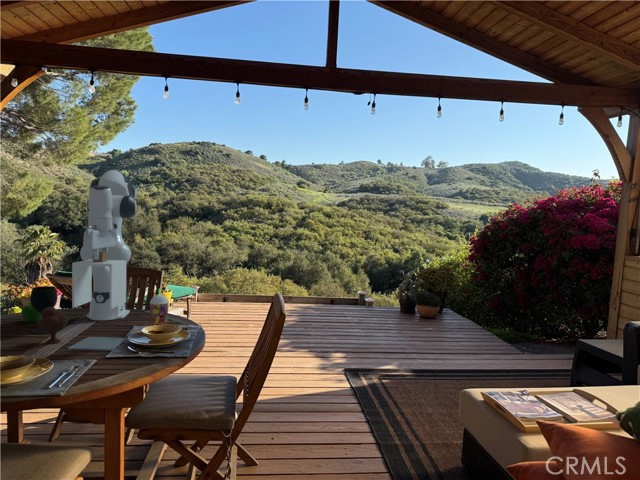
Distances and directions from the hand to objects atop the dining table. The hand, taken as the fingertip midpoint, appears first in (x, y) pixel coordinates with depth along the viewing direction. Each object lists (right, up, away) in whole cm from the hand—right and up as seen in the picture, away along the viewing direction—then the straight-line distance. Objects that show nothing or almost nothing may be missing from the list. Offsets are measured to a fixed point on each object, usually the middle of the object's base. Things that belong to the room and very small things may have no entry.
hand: (100, 258), depth 175 cm
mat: (-1, -36, +2) cm, 36 cm away
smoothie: (+15, -35, +25) cm, 46 cm away
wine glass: (-35, -34, +18) cm, 52 cm away
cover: (-1, -19, +1) cm, 19 cm away
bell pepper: (-51, -33, +34) cm, 70 cm away
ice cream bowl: (-21, -35, +3) cm, 41 cm away
